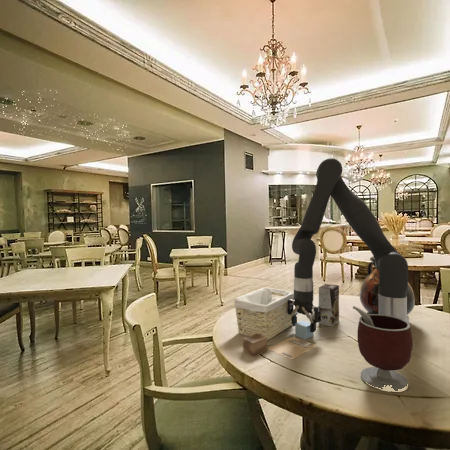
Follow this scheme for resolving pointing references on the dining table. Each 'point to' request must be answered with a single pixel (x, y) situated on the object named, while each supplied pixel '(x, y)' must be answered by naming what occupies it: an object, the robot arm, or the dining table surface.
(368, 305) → the amphora vase
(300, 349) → the letter
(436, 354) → the dining table surface
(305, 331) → the slate cube
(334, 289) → the coffee box
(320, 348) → the dining table surface
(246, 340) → the walnut block
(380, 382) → the mate gourd
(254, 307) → the storage basket
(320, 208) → the robot arm
